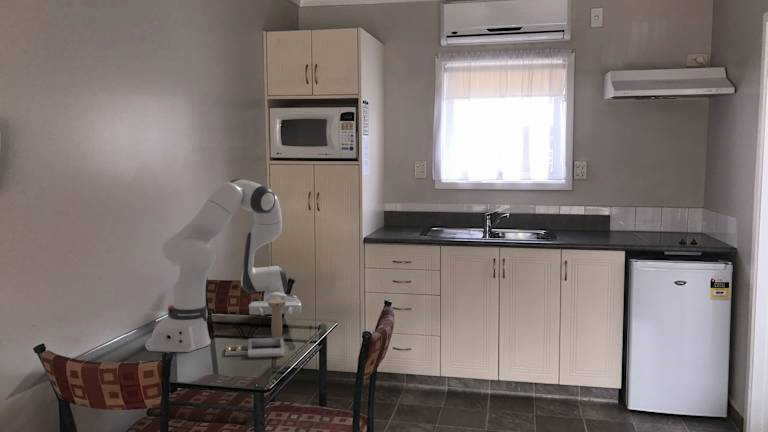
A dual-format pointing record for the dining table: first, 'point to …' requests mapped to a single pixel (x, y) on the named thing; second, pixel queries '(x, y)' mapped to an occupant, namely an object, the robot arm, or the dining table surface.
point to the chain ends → (258, 352)
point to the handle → (276, 317)
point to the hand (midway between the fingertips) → (275, 313)
